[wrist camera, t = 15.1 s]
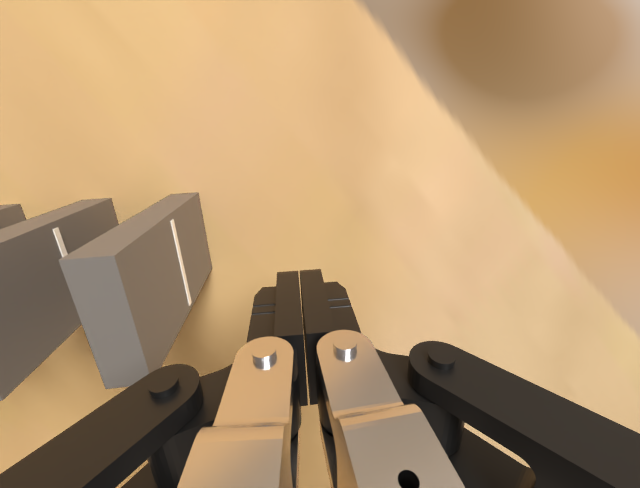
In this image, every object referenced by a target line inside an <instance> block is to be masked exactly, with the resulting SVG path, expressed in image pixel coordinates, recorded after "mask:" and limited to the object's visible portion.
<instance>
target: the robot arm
mask: <svg viewBox="0 0 640 488" xmlns="http://www.w3.org/2000/svg"><path fill="white" fill-rule="evenodd" d="M300 284H301V300H302V311H301V300H300V288H299V277H298V271H289V272H277V284H276V287H263V288H262V289H261V290H260V291H259V292H258V293H257V294H256V295H255V297H254V303H253V309H252V315H251V320H250V326H249V332H248V338H247V343H246V344H245V345H243V346H242V347H241V348H240V349H239V350H238V352H237V354H236V356H235V359H234V362H233V364H231V365H230V366H228V367H226V368H224V369H222V370H219V371H217V372H214V373H211V374H208V375H205V376H202V377H199V374H198V372H197V371H196V369H194V368H193V367H191V366H188V365H183V364H176V365H169V366H165V367H162V368H159V369H157V370H155V371H153V372H151V373H149V374H148V375H146V376H145V377H143V378H142V379H140V380H139V381H137V382H136V383H134V384H133V385H131V386H130V387H128V388H127V389H125V390H124V391H122V392H121V393H120V394H118V395H117V396H115V397H114V398H112V399H111V400H109V401H108V402H106V403H105V404H103V405H102V406H100V407H99V408H97V409H96V410H94V411H93V412H91V413H90V414H88V415H87V416H86V417H84V418H83V419H81V420H80V421H78V422H77V423H75V424H74V425H72V426H71V427H69V428H68V429H66V430H65V431H63V432H62V433H60V434H59V435H57V436H56V437H55V438H53V439H52V440H50V441H49V442H47V443H46V444H44V445H43V446H41V447H40V448H38V449H37V450H35V451H34V452H32V453H31V454H29V455H28V456H26V457H25V458H23V459H22V460H21V461H19V462H18V463H16V464H15V465H13V466H12V467H10V468H9V469H7V470H6V471H4V472H3V473H1V474H0V488H115V487H117V486H118V485H119V484H120V483H121V482H122V481H123V480H124V479H125V478H127V477H128V476H129V475H130V474H131V473H132V472H133V471H134V470H136V469H137V468H138V467H139V466H140V465H141V464H142V463H143V462H144V461H146V460H148V464H147V465H146V466H144V467H143V468H142V469H141V470H140V471H139V472H138V473H137V474H136V475H134V476H133V477H132V478H131V479H130V480H129V481H128V482H127V483H126V484H125V485H123V486H122V487H121V488H298V474H299V444H300V431H299V428H300V425H301V406H306V405H308V401H307V384H306V368H305V352H306V363H307V374H308V386H309V397H310V405H313V404H318V408H319V417H320V434H321V439H322V444H323V449H324V454H325V459H326V464H327V470H328V475H329V480H330V485H331V488H640V434H639V433H637V432H635V431H633V430H631V429H628V428H626V427H624V426H622V425H620V424H618V423H616V422H614V421H612V420H609V419H607V418H605V417H603V416H601V415H599V414H597V413H595V412H592V411H590V410H588V409H586V408H584V407H582V406H580V405H578V404H576V403H573V402H571V401H569V400H567V399H565V398H563V397H561V396H559V395H556V394H554V393H552V392H550V391H548V390H546V389H544V388H542V387H540V386H537V385H535V384H533V383H531V382H529V381H527V380H525V379H523V378H521V377H518V376H516V375H514V374H512V373H510V372H508V371H506V370H504V369H501V368H499V367H497V366H495V365H493V364H491V363H489V362H487V361H485V360H482V359H480V358H478V357H476V356H474V355H472V354H470V353H468V352H465V351H463V350H461V349H459V348H457V347H455V346H453V345H450V344H447V343H443V342H438V341H427V342H422V343H419V344H417V345H415V346H414V347H413V348H412V349H411V351H410V354H409V356H403V355H396V354H390V353H386V352H382V351H380V350H377V349H375V348H374V346H373V344H372V342H371V341H370V340H369V339H368V338H367V337H366V336H365V335H363V334H361V331H360V328H359V325H358V323H357V320H356V317H355V314H354V311H353V309H352V307H351V303H350V300H349V298H348V295H347V292H346V289H345V288H344V287H343V286H341V285H340V284H339V283H338V282H327V283H324V281H323V277H322V273H321V269H315V270H302V271H300ZM302 316H303V323H302ZM303 329H304V335H303ZM304 340H305V351H304ZM464 423H467V424H469V425H470V426H472V427H474V428H475V429H477V430H478V431H480V432H482V433H483V434H485V435H486V436H488V437H490V438H491V439H493V440H494V441H496V442H498V443H499V444H501V445H502V446H504V447H506V448H507V449H509V450H510V451H512V452H514V453H515V454H517V455H518V456H520V457H521V458H522V459H523V460H524V461H526V462H527V463H528V465H529V466H530V467H531V468H529V467H526V466H524V465H522V464H521V463H519V462H517V461H516V460H514V459H513V458H511V457H510V456H508V455H506V454H505V453H503V452H502V451H500V450H499V449H497V448H495V447H494V446H492V445H491V444H489V443H488V442H486V441H484V440H483V439H481V438H480V437H478V436H477V435H475V434H473V433H472V432H470V431H469V430H467V429H466V428H464Z"/></svg>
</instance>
